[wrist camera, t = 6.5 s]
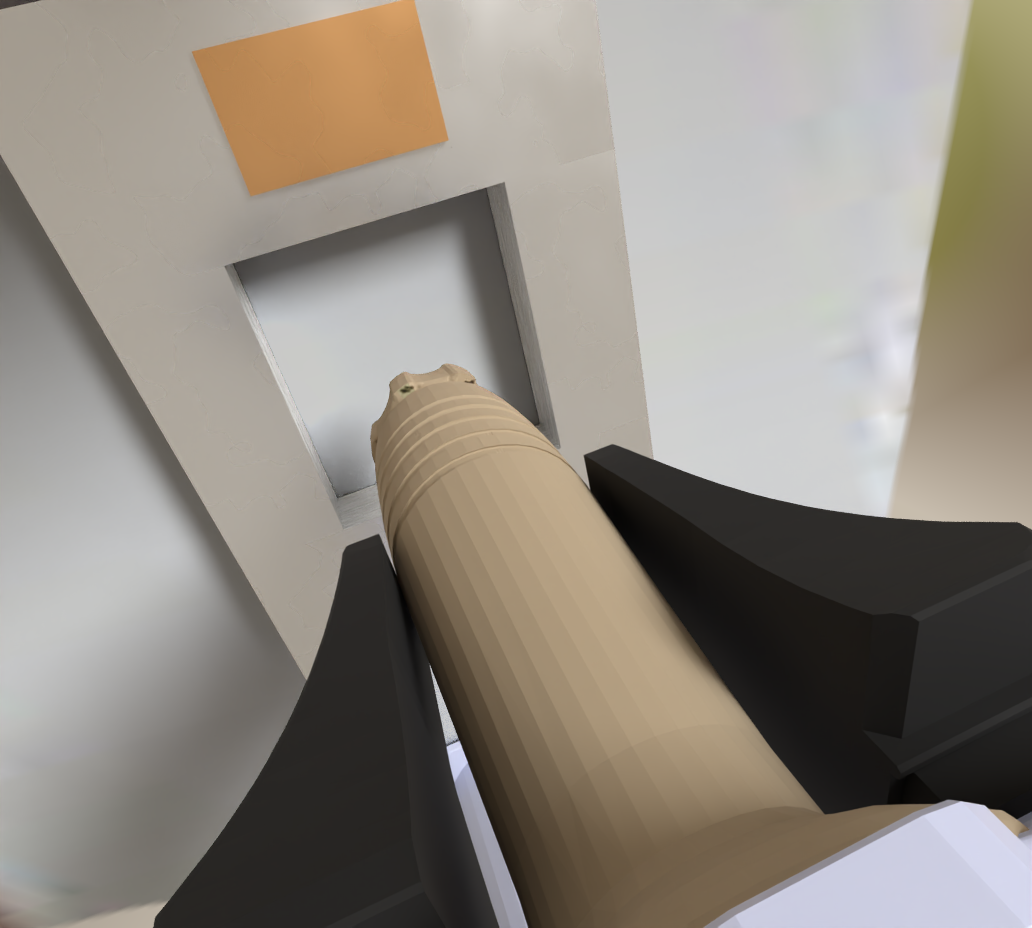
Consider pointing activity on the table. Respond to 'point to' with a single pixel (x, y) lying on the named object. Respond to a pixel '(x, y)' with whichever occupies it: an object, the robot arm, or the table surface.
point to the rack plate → (316, 219)
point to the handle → (581, 682)
